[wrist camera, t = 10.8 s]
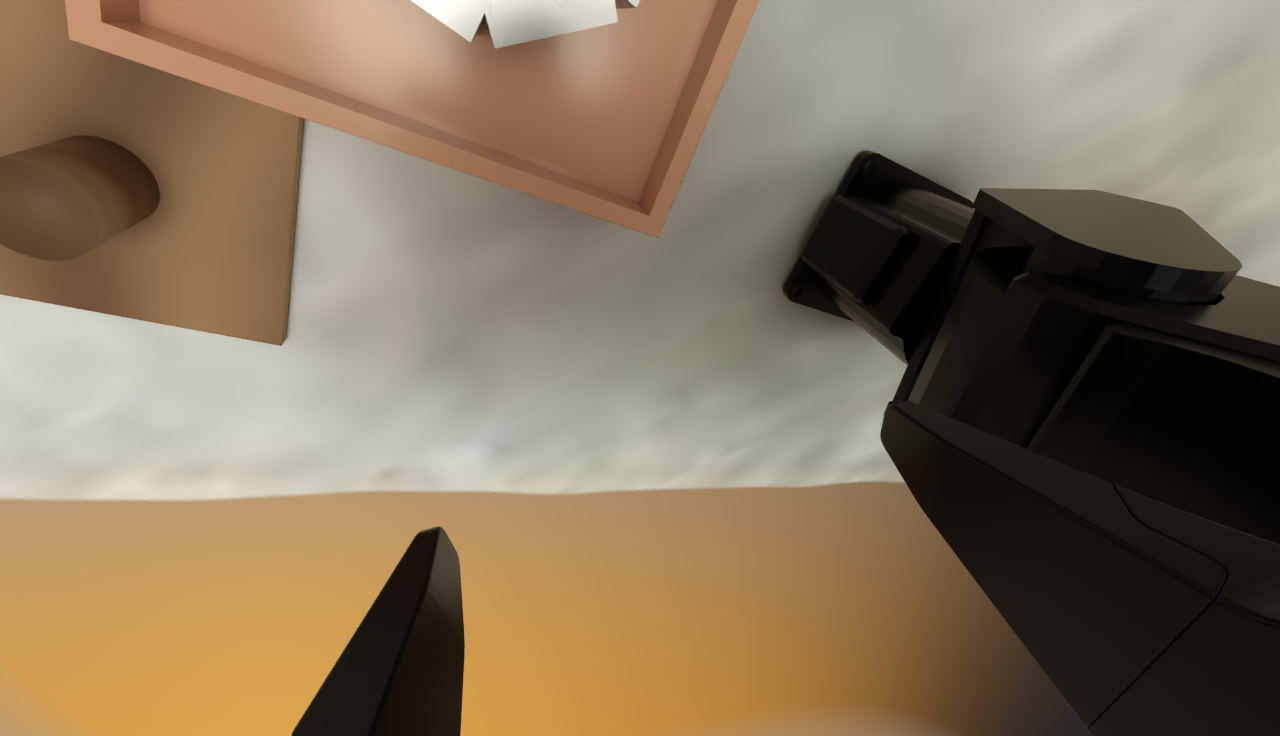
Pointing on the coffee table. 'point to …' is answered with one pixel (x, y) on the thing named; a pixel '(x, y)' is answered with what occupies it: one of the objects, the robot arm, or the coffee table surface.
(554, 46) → the tray
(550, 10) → the grey tankard
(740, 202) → the coffee table surface
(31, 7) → the square plate with peg
